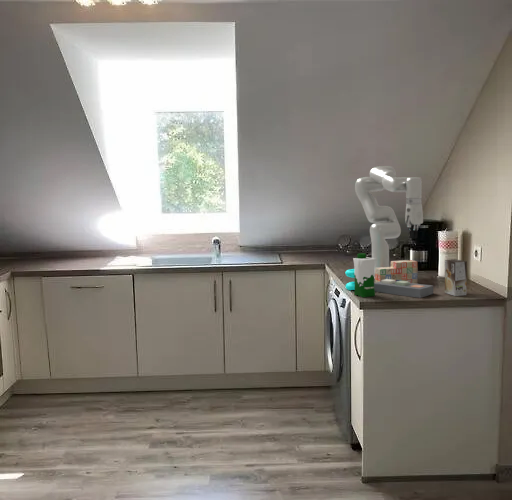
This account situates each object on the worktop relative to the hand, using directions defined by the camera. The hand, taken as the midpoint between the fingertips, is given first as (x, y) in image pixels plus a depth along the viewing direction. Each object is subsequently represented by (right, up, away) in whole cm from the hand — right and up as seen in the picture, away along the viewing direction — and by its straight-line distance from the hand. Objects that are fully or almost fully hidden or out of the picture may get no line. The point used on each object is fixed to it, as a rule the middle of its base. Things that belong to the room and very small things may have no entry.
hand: (413, 237), depth 271 cm
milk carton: (-28, -28, -16) cm, 43 cm away
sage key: (-9, -25, -12) cm, 29 cm away
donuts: (-29, -26, 0) cm, 40 cm away
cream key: (-14, -24, -6) cm, 29 cm away
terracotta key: (-3, -26, -18) cm, 32 cm away
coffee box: (+14, -27, -19) cm, 36 cm away
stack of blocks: (-6, -25, +11) cm, 28 cm away
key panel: (-9, -27, -12) cm, 31 cm away
